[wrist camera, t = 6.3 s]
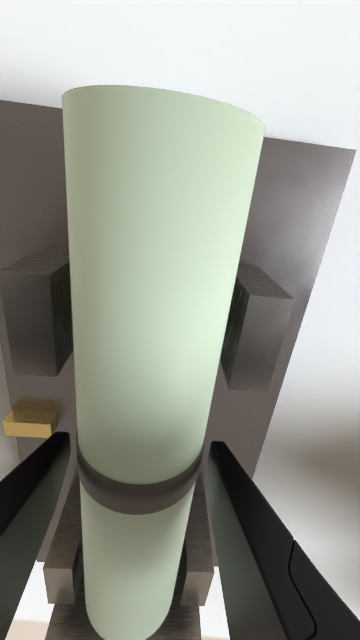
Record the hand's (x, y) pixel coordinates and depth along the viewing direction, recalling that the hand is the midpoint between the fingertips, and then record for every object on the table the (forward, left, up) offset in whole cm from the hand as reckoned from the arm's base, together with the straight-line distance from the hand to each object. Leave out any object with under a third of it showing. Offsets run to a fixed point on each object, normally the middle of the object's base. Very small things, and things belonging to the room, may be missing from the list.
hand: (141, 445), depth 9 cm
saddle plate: (0, +2, -4) cm, 5 cm away
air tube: (0, 0, 0) cm, 0 cm away
